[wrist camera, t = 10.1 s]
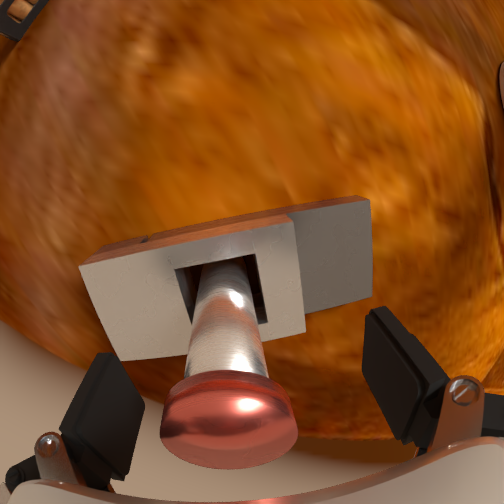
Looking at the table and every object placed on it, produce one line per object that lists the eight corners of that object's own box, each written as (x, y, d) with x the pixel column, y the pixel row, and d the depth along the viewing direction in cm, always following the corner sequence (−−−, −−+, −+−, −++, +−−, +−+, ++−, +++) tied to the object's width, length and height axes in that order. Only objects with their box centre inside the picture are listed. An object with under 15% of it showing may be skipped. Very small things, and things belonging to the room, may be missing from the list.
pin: (247, 236, 18) (292, 388, 6) (257, 290, 20) (301, 458, 7) (188, 248, 18) (136, 407, 6) (203, 300, 20) (187, 472, 7)
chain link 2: (356, 195, 18) (369, 199, 16) (360, 284, 20) (372, 296, 19) (153, 233, 18) (146, 242, 16) (181, 322, 20) (178, 337, 18)
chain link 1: (279, 208, 18) (293, 221, 14) (292, 301, 20) (306, 331, 16) (103, 245, 18) (78, 266, 14) (134, 329, 20) (120, 361, 16)
